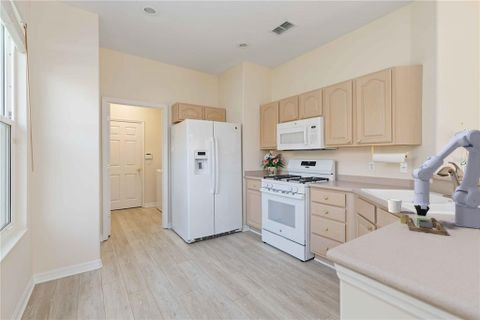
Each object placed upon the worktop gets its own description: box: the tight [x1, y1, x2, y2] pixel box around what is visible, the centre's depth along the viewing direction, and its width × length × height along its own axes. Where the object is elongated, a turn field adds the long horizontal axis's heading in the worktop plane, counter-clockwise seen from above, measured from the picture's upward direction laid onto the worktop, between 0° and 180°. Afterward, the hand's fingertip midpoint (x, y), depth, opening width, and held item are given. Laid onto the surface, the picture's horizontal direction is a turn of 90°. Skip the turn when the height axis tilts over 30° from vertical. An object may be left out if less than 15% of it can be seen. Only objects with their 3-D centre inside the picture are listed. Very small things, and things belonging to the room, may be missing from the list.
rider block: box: [414, 214, 431, 227], centre depth 106 cm, size 5×5×4 cm
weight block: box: [418, 220, 433, 229], centre depth 99 cm, size 4×4×4 cm
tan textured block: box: [399, 213, 407, 225], centre depth 110 cm, size 2×3×4 cm, turn 148°
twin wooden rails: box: [405, 214, 447, 236], centre depth 105 cm, size 12×24×2 cm, turn 148°
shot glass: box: [387, 198, 403, 214], centre depth 130 cm, size 7×7×7 cm
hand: (421, 220), depth 109 cm, fingers closed
